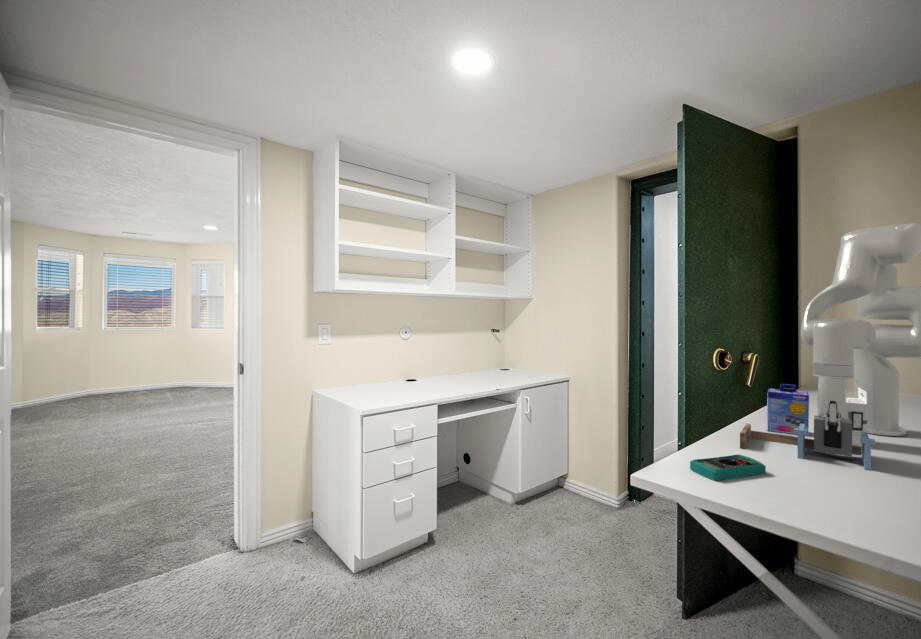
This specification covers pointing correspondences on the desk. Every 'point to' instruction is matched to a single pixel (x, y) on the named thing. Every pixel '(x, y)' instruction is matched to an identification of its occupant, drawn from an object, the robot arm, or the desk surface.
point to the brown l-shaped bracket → (778, 439)
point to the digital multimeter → (727, 467)
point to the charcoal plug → (846, 437)
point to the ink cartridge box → (787, 409)
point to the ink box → (857, 415)
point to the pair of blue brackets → (864, 440)
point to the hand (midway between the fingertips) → (832, 443)
